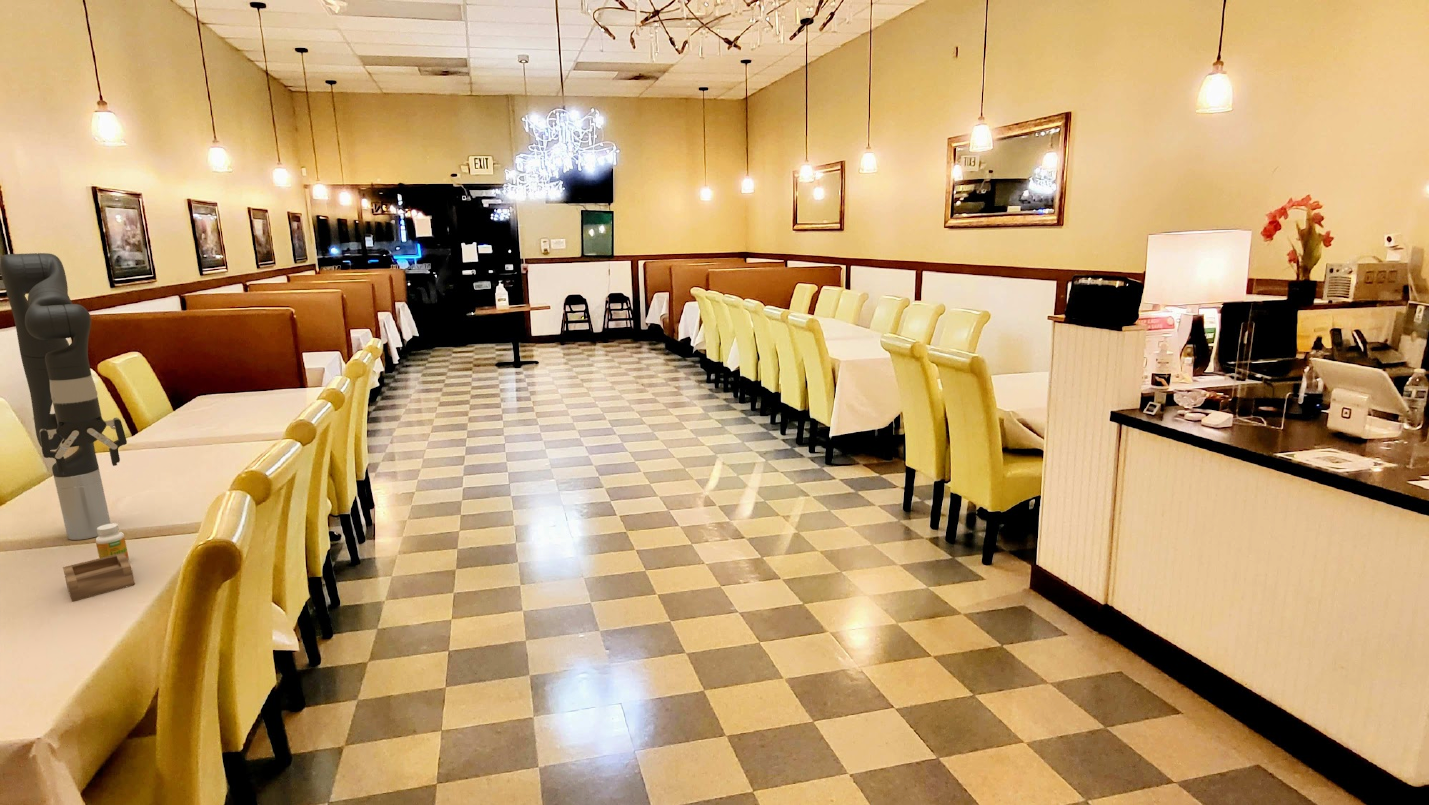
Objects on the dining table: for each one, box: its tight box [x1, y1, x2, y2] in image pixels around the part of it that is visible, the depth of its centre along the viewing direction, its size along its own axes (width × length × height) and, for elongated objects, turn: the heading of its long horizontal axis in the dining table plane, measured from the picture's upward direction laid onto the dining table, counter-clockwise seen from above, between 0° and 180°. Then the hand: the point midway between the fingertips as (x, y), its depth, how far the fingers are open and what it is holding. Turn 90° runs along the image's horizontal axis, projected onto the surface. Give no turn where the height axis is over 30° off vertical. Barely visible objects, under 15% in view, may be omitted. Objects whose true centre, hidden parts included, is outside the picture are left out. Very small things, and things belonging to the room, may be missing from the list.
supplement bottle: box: [95, 522, 130, 561], centre depth 181 cm, size 5×5×10 cm
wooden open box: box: [62, 552, 136, 602], centre depth 171 cm, size 11×11×4 cm
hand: (90, 469), depth 167 cm, fingers open, 8 cm apart
